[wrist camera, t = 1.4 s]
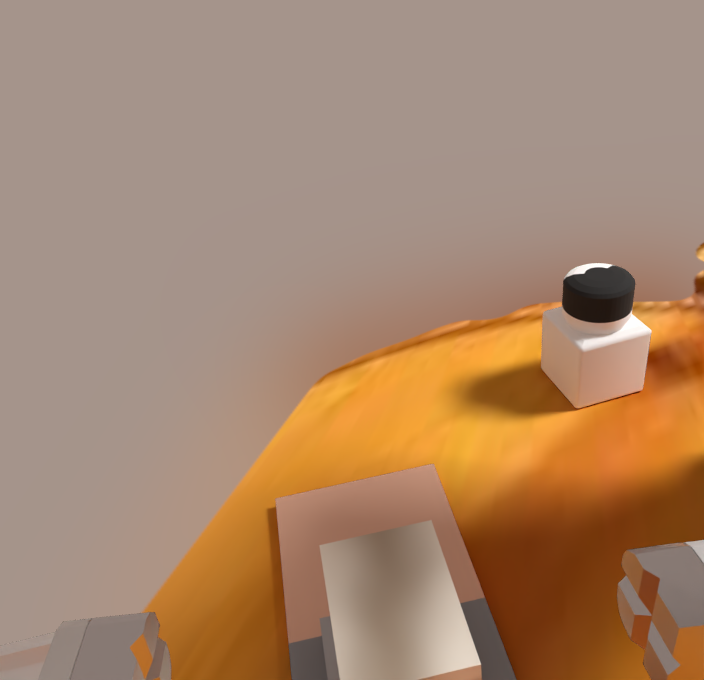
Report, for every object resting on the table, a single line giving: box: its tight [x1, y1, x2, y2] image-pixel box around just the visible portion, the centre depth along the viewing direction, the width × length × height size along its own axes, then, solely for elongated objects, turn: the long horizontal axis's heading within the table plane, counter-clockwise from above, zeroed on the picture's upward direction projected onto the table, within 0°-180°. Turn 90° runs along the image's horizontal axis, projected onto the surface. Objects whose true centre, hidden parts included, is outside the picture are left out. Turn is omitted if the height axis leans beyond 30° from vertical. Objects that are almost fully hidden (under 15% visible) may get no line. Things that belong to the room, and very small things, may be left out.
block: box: [319, 520, 482, 680], centre depth 35 cm, size 6×8×14 cm
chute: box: [276, 464, 517, 680], centre depth 45 cm, size 14×27×3 cm, turn 9°
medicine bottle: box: [541, 263, 651, 408], centre depth 61 cm, size 7×7×12 cm
